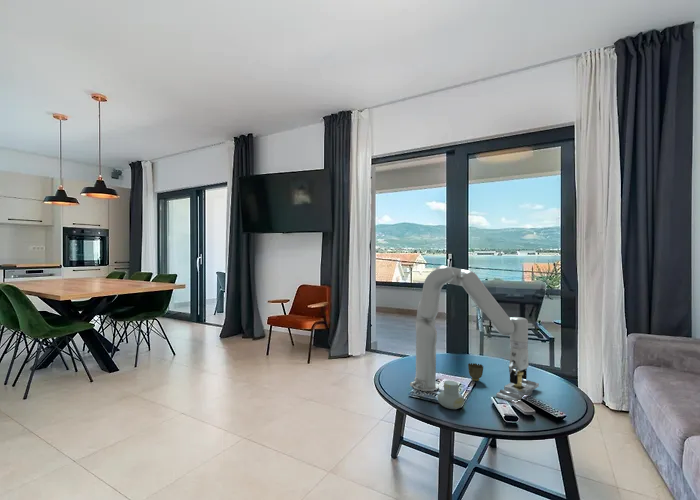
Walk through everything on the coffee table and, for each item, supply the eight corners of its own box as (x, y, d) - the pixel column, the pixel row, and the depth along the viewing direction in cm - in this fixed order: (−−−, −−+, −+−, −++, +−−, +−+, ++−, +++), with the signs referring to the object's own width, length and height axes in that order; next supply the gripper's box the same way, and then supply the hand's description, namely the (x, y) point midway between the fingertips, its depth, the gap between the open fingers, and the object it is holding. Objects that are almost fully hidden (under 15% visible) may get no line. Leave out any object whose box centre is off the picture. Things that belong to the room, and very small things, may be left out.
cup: (484, 384, 174) (484, 367, 174) (468, 382, 176) (469, 366, 176) (481, 378, 182) (482, 363, 182) (467, 377, 183) (467, 362, 183)
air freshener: (452, 400, 155) (452, 377, 155) (467, 407, 148) (467, 383, 148) (434, 405, 149) (434, 382, 149) (449, 413, 142) (449, 388, 142)
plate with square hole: (516, 403, 152) (516, 393, 152) (496, 396, 159) (496, 387, 159) (538, 389, 168) (538, 381, 168) (519, 384, 175) (519, 376, 175)
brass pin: (520, 396, 160) (520, 374, 160) (510, 392, 164) (511, 371, 164) (524, 393, 163) (524, 372, 163) (515, 390, 167) (515, 369, 167)
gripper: (518, 349, 155) (518, 387, 155) (534, 342, 166) (534, 378, 166) (502, 345, 161) (501, 382, 161) (518, 339, 172) (518, 374, 172)
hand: (518, 380), depth 164 cm, fingers open, 9 cm apart
